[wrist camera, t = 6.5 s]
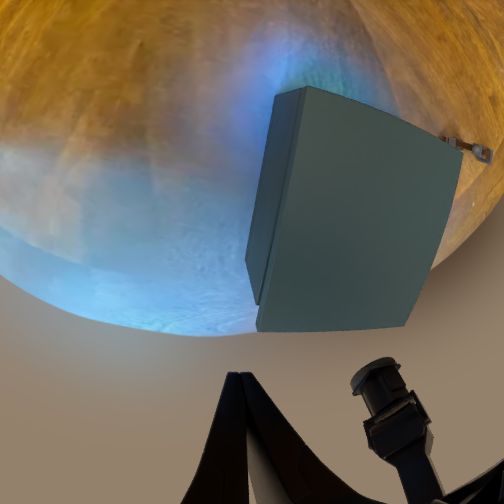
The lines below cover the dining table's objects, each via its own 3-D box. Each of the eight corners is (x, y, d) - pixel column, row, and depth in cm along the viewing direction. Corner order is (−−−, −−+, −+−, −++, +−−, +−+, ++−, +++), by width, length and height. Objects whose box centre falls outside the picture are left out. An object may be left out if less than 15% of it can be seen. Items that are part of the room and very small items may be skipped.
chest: (366, 268, 24) (398, 306, 19) (244, 259, 22) (255, 305, 17) (406, 137, 18) (455, 150, 13) (274, 95, 16) (301, 87, 11)
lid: (399, 320, 19) (404, 326, 18) (255, 324, 16) (257, 332, 16) (455, 151, 13) (463, 153, 13) (301, 87, 11) (307, 85, 10)
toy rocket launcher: (440, 127, 17) (485, 141, 14) (460, 138, 21) (494, 150, 18) (438, 147, 18) (482, 162, 15) (458, 153, 22) (492, 166, 18)
